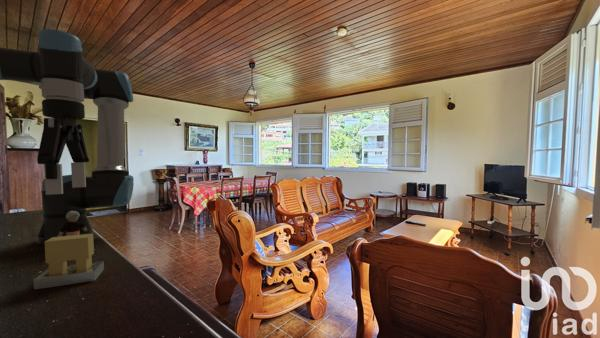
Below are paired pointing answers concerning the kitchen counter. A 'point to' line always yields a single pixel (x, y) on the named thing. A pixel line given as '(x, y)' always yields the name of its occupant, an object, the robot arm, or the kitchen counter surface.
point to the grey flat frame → (68, 276)
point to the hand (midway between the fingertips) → (68, 190)
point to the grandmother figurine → (72, 225)
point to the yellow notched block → (69, 253)
